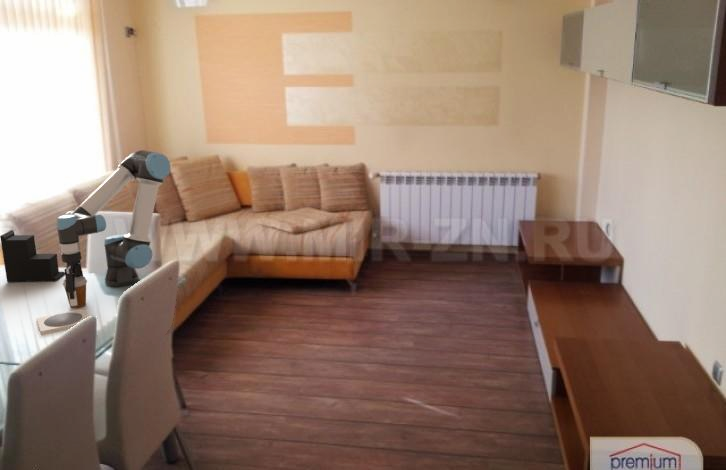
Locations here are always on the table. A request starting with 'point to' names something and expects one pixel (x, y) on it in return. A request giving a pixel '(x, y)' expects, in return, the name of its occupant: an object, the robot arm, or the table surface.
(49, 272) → the bookend
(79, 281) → the disposable coffee cup
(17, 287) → the table surface
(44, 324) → the carrier board
